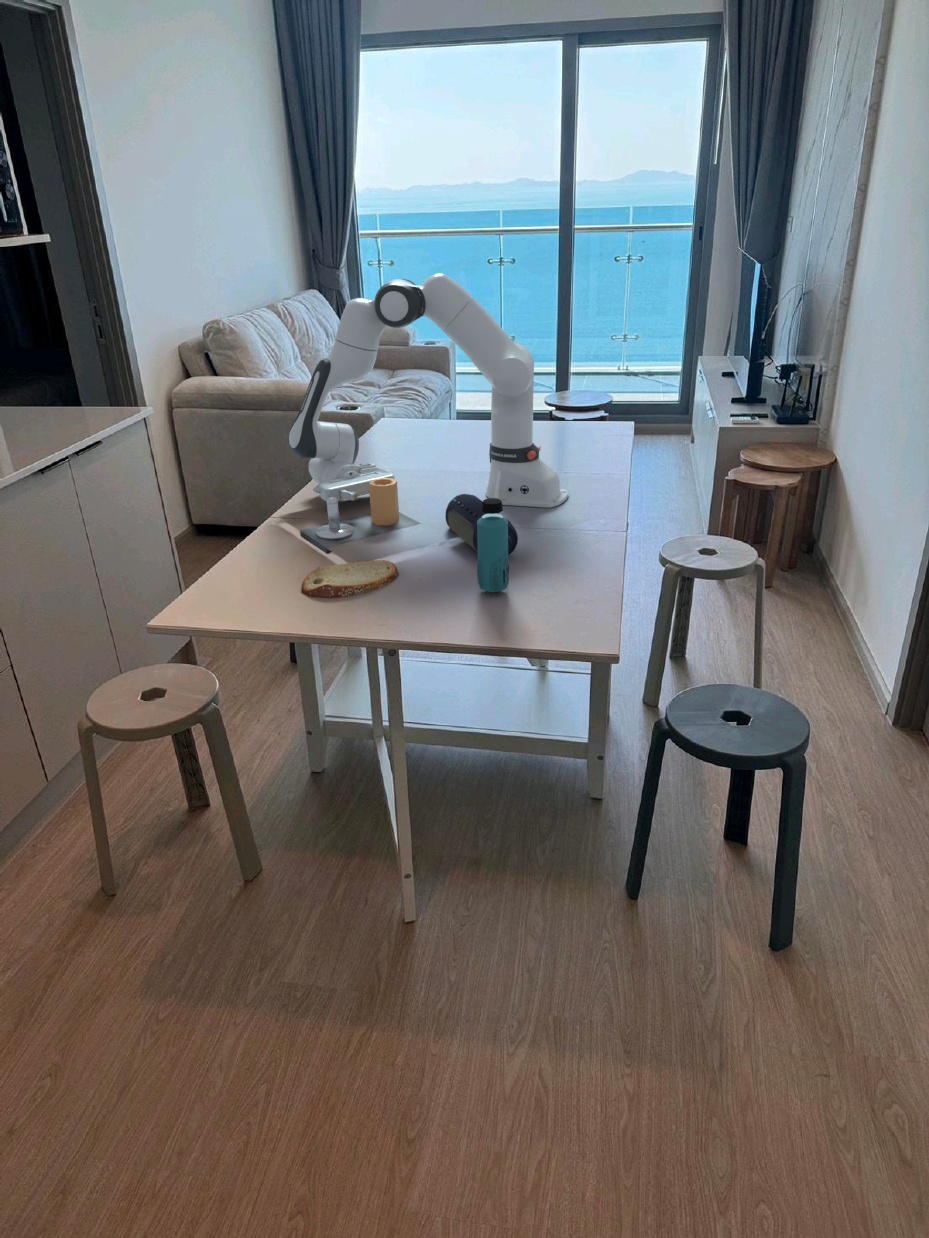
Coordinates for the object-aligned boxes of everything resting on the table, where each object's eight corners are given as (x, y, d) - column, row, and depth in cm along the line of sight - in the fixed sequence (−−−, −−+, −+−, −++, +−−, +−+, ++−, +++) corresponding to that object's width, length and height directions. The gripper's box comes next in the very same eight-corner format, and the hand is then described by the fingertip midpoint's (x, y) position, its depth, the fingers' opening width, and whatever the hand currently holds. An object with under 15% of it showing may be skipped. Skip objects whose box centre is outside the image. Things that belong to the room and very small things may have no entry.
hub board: (392, 513, 216) (389, 474, 211) (420, 529, 206) (419, 487, 201) (300, 536, 203) (295, 494, 198) (326, 553, 192) (322, 510, 188)
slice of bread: (404, 570, 184) (403, 555, 182) (375, 605, 168) (374, 588, 167) (329, 563, 188) (327, 548, 187) (294, 596, 173) (292, 580, 171)
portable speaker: (440, 531, 204) (439, 492, 200) (477, 525, 208) (477, 487, 203) (482, 568, 183) (481, 525, 179) (522, 560, 187) (523, 518, 182)
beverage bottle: (506, 600, 169) (506, 506, 160) (474, 597, 170) (472, 504, 161) (511, 586, 174) (511, 495, 165) (480, 584, 176) (479, 494, 166)
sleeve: (390, 514, 211) (387, 476, 207) (403, 521, 206) (401, 482, 202) (367, 519, 208) (364, 481, 203) (380, 527, 203) (378, 487, 199)
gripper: (308, 476, 213) (333, 489, 203) (378, 462, 223) (405, 473, 213) (311, 500, 216) (336, 514, 206) (379, 484, 226) (406, 497, 216)
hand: (371, 493), depth 209 cm, fingers open, 8 cm apart
